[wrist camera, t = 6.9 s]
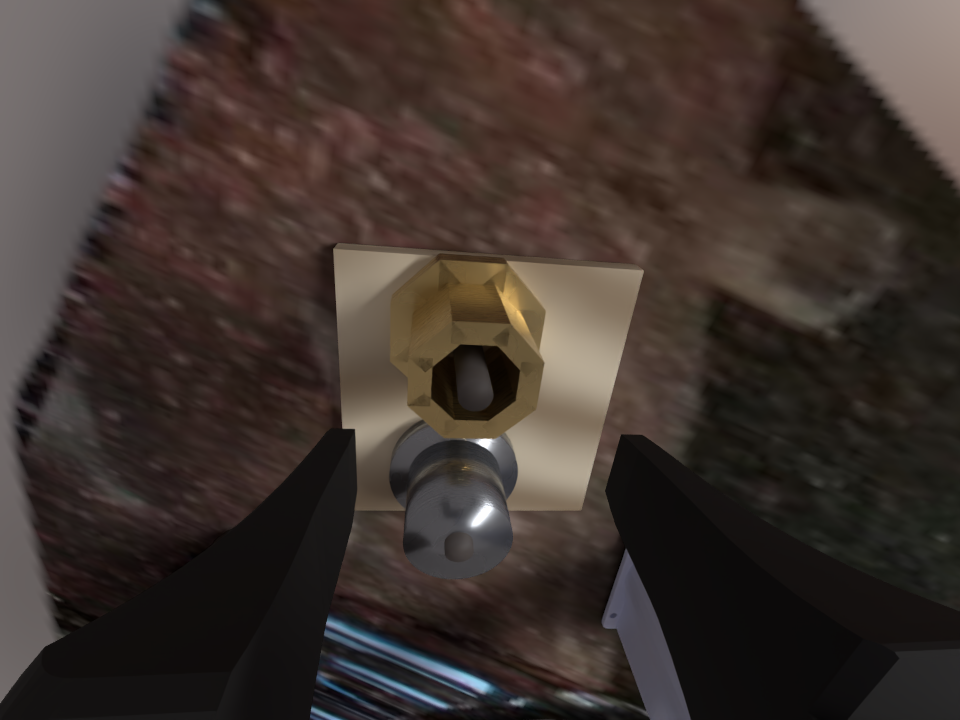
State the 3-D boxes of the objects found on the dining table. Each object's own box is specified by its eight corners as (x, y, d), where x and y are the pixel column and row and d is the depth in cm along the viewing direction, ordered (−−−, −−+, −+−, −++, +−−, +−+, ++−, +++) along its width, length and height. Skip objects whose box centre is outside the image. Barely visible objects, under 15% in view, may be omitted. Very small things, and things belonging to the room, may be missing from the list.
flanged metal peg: (507, 509, 25) (522, 591, 21) (390, 509, 25) (381, 594, 20) (522, 413, 23) (544, 484, 18) (391, 410, 22) (380, 483, 17)
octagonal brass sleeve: (526, 391, 22) (550, 459, 18) (391, 387, 21) (380, 456, 17) (548, 260, 19) (583, 301, 15) (392, 249, 18) (380, 289, 14)
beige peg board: (576, 497, 27) (615, 599, 21) (349, 496, 25) (325, 607, 19) (634, 264, 21) (713, 318, 15) (337, 243, 19) (296, 294, 13)
